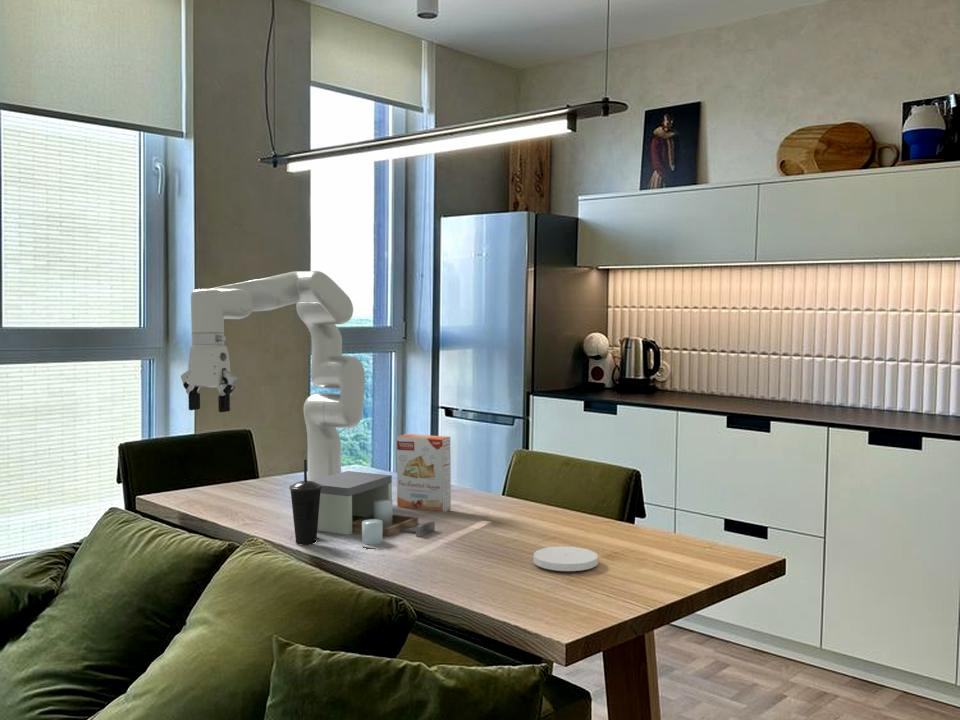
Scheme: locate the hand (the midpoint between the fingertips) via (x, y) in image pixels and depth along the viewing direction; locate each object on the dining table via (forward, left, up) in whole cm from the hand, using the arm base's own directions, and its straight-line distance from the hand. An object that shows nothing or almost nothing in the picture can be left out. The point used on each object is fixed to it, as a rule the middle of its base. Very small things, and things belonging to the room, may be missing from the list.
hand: (209, 410), depth 218 cm
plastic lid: (-18, +86, -32) cm, 93 cm away
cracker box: (-49, +31, -31) cm, 66 cm away
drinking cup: (-7, +24, -31) cm, 40 cm away
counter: (-24, +29, -31) cm, 49 cm away
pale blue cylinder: (-11, +40, -31) cm, 52 cm away
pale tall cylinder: (-27, +32, -30) cm, 52 cm away
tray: (-24, +38, -31) cm, 54 cm away
